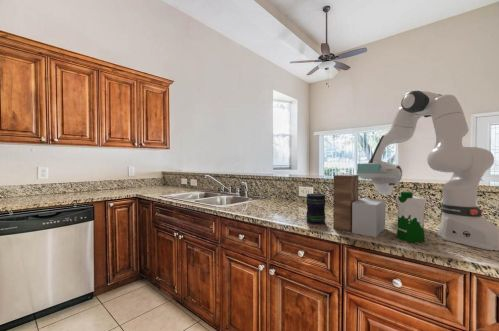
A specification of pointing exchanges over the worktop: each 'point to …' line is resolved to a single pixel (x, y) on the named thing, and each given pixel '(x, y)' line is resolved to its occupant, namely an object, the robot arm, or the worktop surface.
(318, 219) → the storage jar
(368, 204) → the grey step
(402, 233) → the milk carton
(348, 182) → the brown tall block
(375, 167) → the teal tile
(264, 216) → the worktop surface
